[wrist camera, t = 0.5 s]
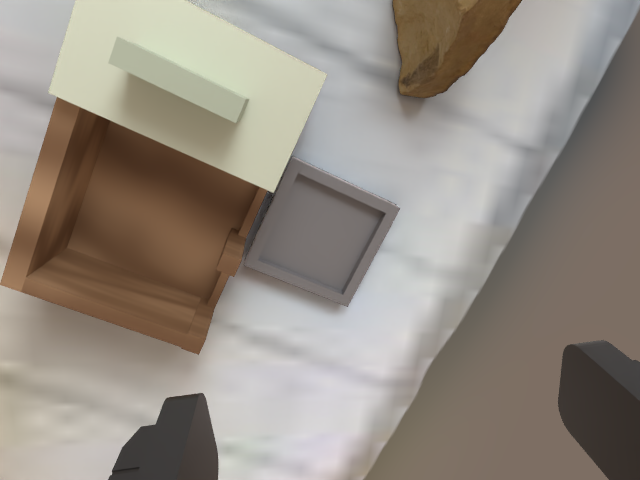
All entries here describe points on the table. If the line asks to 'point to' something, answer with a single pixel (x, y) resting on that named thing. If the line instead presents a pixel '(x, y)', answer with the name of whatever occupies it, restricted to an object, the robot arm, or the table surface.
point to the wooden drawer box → (129, 229)
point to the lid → (188, 83)
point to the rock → (444, 39)
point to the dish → (320, 232)
